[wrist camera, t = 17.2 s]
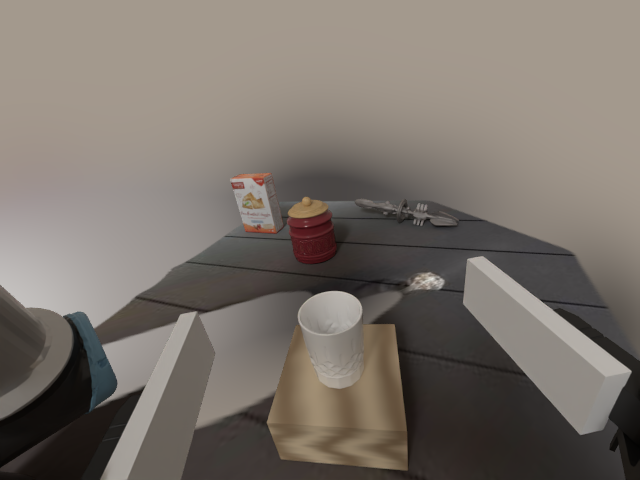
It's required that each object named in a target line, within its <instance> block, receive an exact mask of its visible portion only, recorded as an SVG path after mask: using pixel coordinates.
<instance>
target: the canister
mask: <svg viewBox="0 0 640 480" xmlns="http://www.w3.org/2000/svg"><path fill="white" fill-rule="evenodd" d="M288 215H289V217H288V219H287V224H288V225H289V226H290V230H289V234H290V236H291V241H292V245H293V252H294V255H295V257H296V259H297V260H298V261H299V262H302V263H306V264H315V263H321V262H324V261H326V260H329V259H330V258H332V257H333V256H334V255H335V254H336V249H337V245H336V241H335V234H334V224H333V222H332V221H331V217H332V212H331V211H330V210H328V205H327V204H326V203H323V202H321V201H319V200H311V199H310V198H309V197H304V198H303V199H302V202H299V203H297V204H295V205H294V206H293V207H292V208H291V209H290V210H289V211H288Z"/></svg>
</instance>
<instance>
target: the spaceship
mask: <svg viewBox="0 0 640 480" xmlns="http://www.w3.org/2000/svg"><path fill="white" fill-rule="evenodd" d="M355 204H356V205H358V206H359V207H363V208H368V209H370V208H376V209H378V210H380V211H383V212H384V213H383V214H384V215H388V214H387V213H391V214H396V213H397V221H398V223H401V222H402V221H403V219H404V218H405V217H408V215H409V214H410V215H413V217H416V218H414V223H413V224H416V220H417V219H418V221H417V225H419V223H420V220H421V225H420V226H422V225H423V222H424V220H426V218H430V219H431V220H430V222H431V223H433V224H434V225H450V226H451V225H453V226H454V225H458V223H455V222H456V221H459V219H457V218H454V217H453V216H451V215H449V214H446V213H444V212H442V211H441V212H439V211H438V212H434V213H432V215H429V214H428V213H427V211H426V209H427V205H425V207H424V210H423V205H424V204H422V205H421V208H420V209H419V207H420V204H419V203H418V206H417V209H415V210H414V212H412V211H410V207H407V200H406V199H404V200H402V201H401V203H400V205H399V207H397V206H396V205H391V204H390V201H386V203H373V202H372V201H370V200H366V199H357V200H355ZM417 210H418V211H417ZM425 211H426V212H425ZM413 217H412V218H413ZM422 219H423V220H422Z"/></svg>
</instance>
